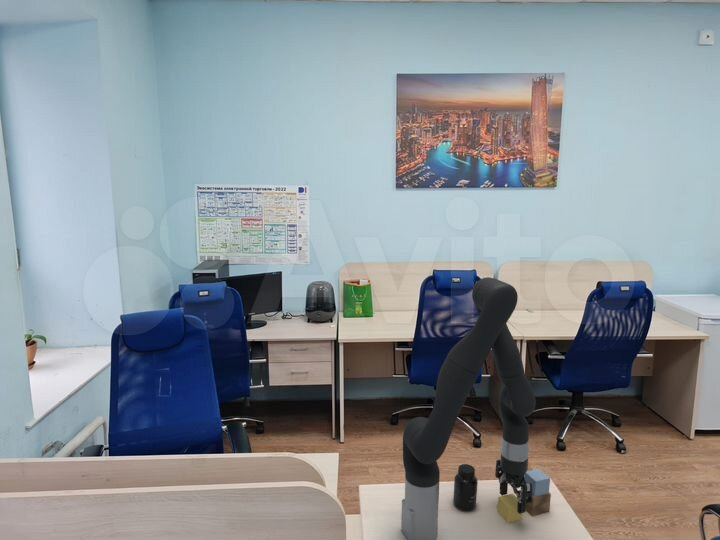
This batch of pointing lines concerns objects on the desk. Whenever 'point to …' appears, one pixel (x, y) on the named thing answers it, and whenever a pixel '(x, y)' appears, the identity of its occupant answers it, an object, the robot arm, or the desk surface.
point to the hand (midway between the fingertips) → (512, 503)
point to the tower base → (538, 504)
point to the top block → (509, 508)
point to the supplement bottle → (465, 488)
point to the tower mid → (538, 482)
